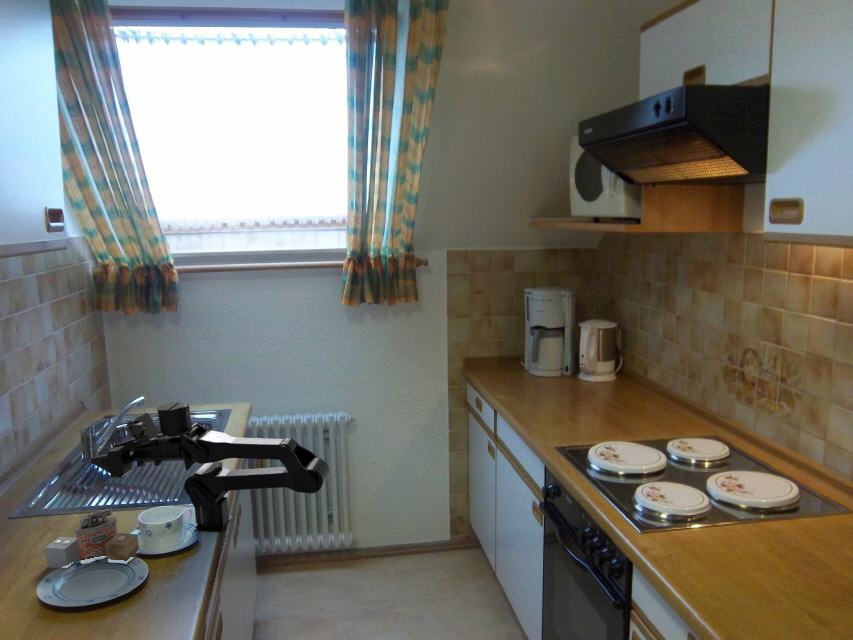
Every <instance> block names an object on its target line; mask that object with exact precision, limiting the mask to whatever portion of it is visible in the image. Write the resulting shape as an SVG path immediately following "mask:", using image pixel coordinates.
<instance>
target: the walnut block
mask: <svg viewBox="0 0 853 640" xmlns="http://www.w3.org/2000/svg"><path fill="white" fill-rule="evenodd" d="M105 547H106V555H107V558H106V560H107V559H111V560H124V561H127V560H128V559H129V558H130V557H135V558H137V556H138V555H137V554H136V552H137V551H138V549H139V550H140V545H139V536H138V534H137V533H123V532H117V534H116V535H115V536H114V537H113V538H111V539H110V540H109V541H108V542H107V543H105Z"/></svg>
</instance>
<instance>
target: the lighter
mask: <svg viewBox="0 0 853 640" xmlns="http://www.w3.org/2000/svg"><path fill="white" fill-rule="evenodd" d="M112 515H113V509H112V508H106V509H103V510H99V511H98V512H95V511H90V512H89V513H88V515H84V516H81V517H80V518H79V521H80V522H79V523H80V525H78V526H77V527H75V528H74V534H75V535H76V538H77V543H78V551H79V558H78V559H79V560H78V562H79V561H81V560H85V559H90V558H94V557H100V556H107V555H106V547H105V543H107V542H108V541H109V540H110V539H111V538H113V537H114V536H115V535H116V534H117V533H118V529H117V522H118V521H117V520H118V519H117V517H116V516H112Z"/></svg>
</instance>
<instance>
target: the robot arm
mask: <svg viewBox="0 0 853 640" xmlns="http://www.w3.org/2000/svg"><path fill="white" fill-rule="evenodd" d="M156 410H157V411H156V412H157V417H158V422H159V427H160V428H159V427H158V426H156V425H155V423H154V420H153V419H152V417H151V416H150V414H149V413H148V412H145V413H142V414H141V415H138V416H136V417H135V418H134V417H133V418H132V419H130V420H128V421H127V422H126V426H127V431H128V433H129V435H130V437H131V439H129V440H126V441H122V442H119V443H117V444H114V445H113V448H111V449H109V450H108V452H107V453H106V454H103V455H97V456H93V457H91V458H90V460H89V461H90V464H92V465H95V466H97V467H98V468H100V469H102V470H104V471H106V472H108V473H109V474H110V477H111V479H113V480H117V479H122V478H123V477H126V476H127V475H129V474H130V472H132V470H133V464H135V462H136V464H137V465H136V466H137V467H138V468H141V467H143V466H145V465H147V464H154V466H155V467H156V466H157V467H159V466H161V465H162V464H163V463H164V464H165V463H174V462H175V463H177V462H180V463H181V462H183V463H184V469H185V470H186V471H189V470H190V469H191V468H192V467H193V466H195V464H202V465H200V466H199V467H198V468H196V470H194V471H193V472H192V473H191V474H190V475H189V476H188V477H187V479H185V481H184V485H183V487H184V491H185V493H186V495H187V496H188V498H189V499H190V501H191V503H192V506H193V507H194V514H195V524H196V526H195V527H194V528H196V529H199V530H198V531H200V532H201V531H203V532H218V533H220V532H222V531H223V530H224V529H225V528H226V527H227V526H228V524H229V523H230V522H231V521H232V520H233V516H231V515H229V503H228V502H229V499H228V497H227V496H226V495H227V494H228V493H229V492H230V491H246V490H247V491H248V490H249V491H250V490H267V489H282V488H283V489H288V490H291V491H292V492H296V493H301V494H308V495H309V494H311V495H313V494H316V493H318V492H319V491H320V490H321V489H322V487H323V485H324V483H326V480H327V479H328V477H329V475H330V467H329V465H328V464H327V462H326V461H324V459H323V458H320V457H318V456H317V455H316V454H315V453H314V452H313V451H311V450H310V449H307V448H305V447H303V446H302V445H300V444H299V443H298V442H297V441H296V440H295V439H294V438H290V437H285V438H269V437H268V438H263V437H262V438H261V437H236V436H231V435H229V434H227V433H225V432H220V431H217V430H210V429H208V428H206V427H204V426H203V425H201V424H200V423H198V422H195V423H194V424H192V420H191V418H192V417H191V409H190V405H189V404H184V403H182V402H179V401H177V402H176V401H175V402H169V403H165V404H161V405H160V406H158V407H157V409H156ZM196 436H198V437H197V438H196V439H194V437H196ZM228 459H246V460H247V459H248V460H249V459H250V460H277V461H280V462H281V463H282V464H283V465H284V466H277V467H276V466H274V467H260V468H242V469H227V468H225V467H223V461H225V460H228Z"/></svg>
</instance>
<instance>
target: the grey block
mask: <svg viewBox="0 0 853 640" xmlns="http://www.w3.org/2000/svg"><path fill="white" fill-rule="evenodd" d="M44 551H45V559H46V565H47V568H53V569H61V568H60V567H63V566H66V565H69V564H70V563H72V562H75V561H76V562H78V561H79V559H78V558H79V551H78V543H77V537H73V536H72V537H70V536H59V537H57V538H55V540H53V541H51V543H49V544H48V545H47V546H45V547H44ZM76 562H75V563H76Z"/></svg>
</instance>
